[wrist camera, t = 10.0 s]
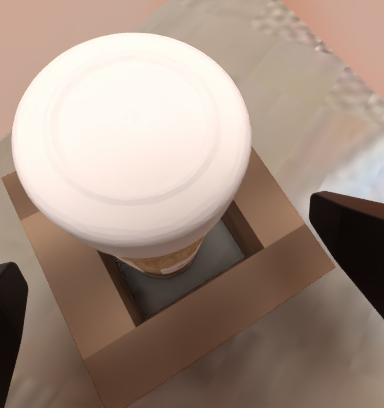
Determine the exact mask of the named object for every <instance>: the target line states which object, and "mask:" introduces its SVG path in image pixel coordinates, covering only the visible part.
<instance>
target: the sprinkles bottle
mask: <svg viewBox="0 0 384 408" xmlns="http://www.w3.org/2000/svg"><path fill="white" fill-rule="evenodd" d="M251 140H252V133H251V126H250V120H249V115H248V111H247V108H246V105H245V102H244V100H243V98H242V96H241V94H240V92H239V90H238V88H237V87H236V85H235V84H234V82H233V81H232V79H231V78H230V77H229V75H228V74H227V73H226V72H225V71H224V70H223V69H222V68H221V67H220V66H219V65H218V64H217V63H216V62H215V61H214V60H212V59H211V58H210V57H208V56H207V55H205V54H204V53H202V52H201V51H199V50H197V49H195V48H194V47H192V46H190V45H188V44H186V43H183V42H181V41H178V40H175V39H172V38H169V37H165V36H161V35H156V34H149V33H120V34H112V35H107V36H102V37H99V38H95V39H92V40H89V41H86V42H84V43H81V44H79V45H76V46H74V47H73V48H71V49H69V50H68V51H65V52H64V53H62V54H61V55H60V56H58V57H57V58H55V59H54V60H53V61H52V62H51V63H50V64H48V65H47V66H46V67H45V68H44V69H43V70H42V71H41V72H40V73H39V74H38V75H37V76H36V78H35V79H34V80H33V81H32V82H31V84H30V86H29V87H28V89H27V90H26V92H25V93H24V95H23V97H22V99H21V101H20V103H19V106H18V108H17V111H16V114H15V119H14V124H13V129H12V154H13V160H14V165H15V168H16V171H17V174H18V177H19V180H20V182H21V184H22V186H23V188H24V190H25V192H26V193H27V195H28V197H29V198H30V199H31V201H32V202H33V204H34V205H35V206H36V207H37V208H38V209H39V210H40V211H41V213H42V214H43V215H45V216H46V217H47V218H48V219H49V220H50V221H51V222H52V223H54V224H55V225H56V226H58V227H59V228H61V229H62V230H64V231H65V232H66V233H68V234H69V235H71V236H72V237H74V238H76V239H78V240H79V241H81V242H83V243H85V244H87V245H88V246H90V247H92V248H94V249H96V250H99V251H101V252H103V253H107V254H110V255H114V256H115V257H117V258H119V259H120V260H122V261H123V262H125V263H127V264H129V265H130V266H132V267H134V268H136V269H138V270H139V271H141V272H142V273H143V274H145V275H147V276H150V277H153V278H160V279H162V278H170V277H173V276H175V275H178V274H180V273H182V272H183V271H185V270H186V269H187V268H188V267H189V266H190V265H191V263H192V262H193V261H194V259H195V257H196V255H197V253H198V249H199V247H200V245H201V243H202V241H203V239H204V237H205V235H206V233H208V232H209V231H210V230H211V229H212V228H213V227H214V226H215V225H216V224H217V222H218V221H219V220H220V218H221V217H222V216H223V214H224V213H225V211H226V210H227V208H228V207H229V205H230V203H231V202H232V200H233V198H234V196H235V194H236V192H237V190H238V189H239V186H240V184H241V182H242V180H243V177H244V175H245V173H246V170H247V167H248V163H249V158H250V153H251Z"/></svg>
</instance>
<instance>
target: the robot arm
mask: <svg viewBox="0 0 384 408" xmlns="http://www.w3.org/2000/svg"><path fill="white" fill-rule="evenodd" d="M309 220H310V222H311V224H312V226H313V227H314V229H315V230H316V232H317V233H318V235H319V237H320V238H321V240H322V241H323V243H324V244H325V246H326V247H327V249H328V250H329V252H330V253H331V255H332V256H333V258H334V259H335V260H336V262H337V263H338V264H339V266H340V267H341V268H342V269H343V270H344V272H345V273H346V274H347V275H348V276H349V278H350V279H351V280H352V281H353V283H354V284H355V285H356V286H357V287H358V289H359V290H360V291H361V292H362V294H363V295H364V296H365V297H366V298H367V300H368V301H369V302H370V303H371V304H372V306H373V307H374V308H375V309H376V311H377V312H378V313H379V314H380V315H381V317H382V318H383V319H384V203H379V202H374V201H370V200H365V199H360V198H356V197H351V196H346V195H342V194H337V193H332V192H328V191H321V192H317V193H313V194H312V195H311V197H310V208H309ZM27 296H28V285H27V282H26V280H25V279H24V277H23V275H22V273H21V271H20V269H19V268H18V266H17V264H16V263H14V262H8V263H3V264H0V408H4V407H5V403H6V399H7V395H8V391H9V387H10V383H11V379H12V376H13V372H14V368H15V364H16V360H17V356H18V352H19V348H20V344H21V339H22V333H23V326H24V318H25V311H26V303H27Z"/></svg>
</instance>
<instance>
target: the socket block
mask: <svg viewBox="0 0 384 408" xmlns="http://www.w3.org/2000/svg"><path fill="white" fill-rule="evenodd" d="M1 179H2V181H3V183H4V185H5V187H6V190H7V192H8V194H9V196H10V199H11V201H12V203H13V205H14V207H15V210H16V212H17V214H18V216H19V219H20V221H21V223H22V225H23V228H24V230H25V232H26V234H27V236H28V239H29V241H30V243H31V245H32V248H33V250H34V252H35V254H36V256H37V259H38V261H39V263H40V265H41V268H42V270H43V272H44V274H45V277H46V279H47V281H48V283H49V285H50V288H51V290H52V292H53V294H54V297H55V299H56V301H57V303H58V305H59V308H60V310H61V312H62V314H63V317H64V319H65V321H66V323H67V326H68V328H69V330H70V332H71V334H72V337H73V339H74V341H75V343H76V346H77V348H78V350H79V352H80V354H81V357H82V359H83V361H84V363H85V366H86V368H87V370H88V372H89V374H90V377H91V379H92V381H93V383H94V386H95V388H96V390H97V392H98V395H99V397H100V399H101V401H102V403H103V406H104V408H126V407H127V406H129V405H130V404H132V403H133V402H135V401H136V400H138V399H139V398H141V397H142V396H144V395H145V394H147V393H148V392H150V391H151V390H153V389H154V388H156V387H157V386H159V385H160V384H162V383H163V382H165V381H166V380H168V379H169V378H171V377H172V376H174V375H175V374H176V373H178V372H179V371H181V370H182V369H184V368H185V367H187V366H188V365H190V364H191V363H193V362H194V361H196V360H197V359H199V358H200V357H202V356H203V355H205V354H206V353H208V352H209V351H211V350H212V349H214V348H215V347H217V346H218V345H220V344H221V343H223V342H224V341H226V340H227V339H229V338H230V337H232V336H233V335H235V334H236V333H238V332H239V331H241V330H242V329H244V328H245V327H247V326H248V325H250V324H251V323H253V322H254V321H256V320H257V319H259V318H260V317H262V316H263V315H265V314H266V313H268V312H269V311H271V310H272V309H274V308H275V307H277V306H278V305H280V304H281V303H283V302H284V301H286V300H287V299H289V298H290V297H292V296H293V295H295V294H296V293H298V292H299V291H301V290H302V289H304V288H305V287H307V286H308V285H310V284H311V283H313V282H314V281H316V280H317V279H319V278H320V277H322V276H323V275H325V274H326V273H328V272H329V271H331V270H332V269H334V268H335V266H334V264H333V263H332V261H331V260H330V258H329V257H328V255H327V254H326V253H325V251H324V250H323V248H322V247H321V245H320V244H319V242H318V241H317V240H316V238H315V237H314V235H313V234H312V232H311V231H310V229H309V228H308V227H307V225H306V224H305V222H304V221H303V219H302V218H301V216H300V215H299V214H298V212H297V211H296V209H295V208H294V206H293V205H292V204H291V202H290V201H289V199H288V198H287V196H286V195H285V193H284V192H283V191H282V189H281V188H280V186H279V185H278V183H277V182H276V180H275V179H274V178H273V176H272V175H271V173H270V172H269V170H268V169H267V167H266V166H265V165H264V163H263V162H262V160H261V159H260V157H259V156H258V154H257V153H256V152H255V150H254V149H253V147H252V146H251V153H250V158H249V163H248V167H247V170H246V173H245V175H244V177H243V180H242V182H241V184H240V186H239V189H238V190H237V192H236V194H235V196H234V198H233V200H232V202H231V203H230V205H229V207H228V208H227V210H226V211H225V213H224V214H223V216H222V217H221V218H222V220H223V221H224V223H225V225H226V226H227V228H228V229H229V231H230V233H231V234H232V236H233V237H234V239H235V241H236V242H237V244H238V246H239V247H240V249H241V250H242V252H243V254H244V255H245V258H244V259H242V260H241V261H239V262H237V263H236V264H234V265H232V266H231V267H229V268H228V269H226V270H224V271H223V272H221V273H219V274H218V275H216V276H214V277H213V278H211V279H210V280H208V281H206V282H205V283H203V284H201V285H200V286H198V287H197V288H195V289H193V290H192V291H190V292H188V293H187V294H185V295H184V296H182V297H180V298H179V299H177V300H175V301H174V302H172V303H170V304H169V305H167V306H166V307H164V308H162V309H161V310H159V311H157V312H156V313H154V314H153V315H151V316H149V317H148V318H146V319H144V317H143V315H142V313H141V311H140V309H139V307H138V305H137V304H136V302H135V300H134V298H133V296H132V294H131V292H130V290H129V288H128V286H127V284H126V282H125V280H124V278H123V276H122V274H121V272H120V270H119V268H118V266H117V265H116V263H115V261H114V259H113V257H112V255H110V254H107V253H103V252H101V251H99V250H96V249H94V248H92V247H90V246H88V245H87V244H85V243H83V242H81V241H79V240H78V239H76V238H74V237H72V236H71V235H69V234H68V233H66V232H65V231H64V230H62V229H61V228H59V227H58V226H56V225H55V224H54V223H52V222H51V221H50V220H49V219H48V218H47V217H46V216H45V215H43V214H42V213H41V211H40V210H39V209H38V208H37V207H36V206H35V205H34V204H33V202H32V201H31V199H30V198H29V197H28V195H27V193H26V192H25V190H24V188H23V186H22V184H21V182H20V180H19V177H18V174H17V171H15V172H13V173H11V174H9V175H7V176H5V177H2V178H1Z"/></svg>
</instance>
